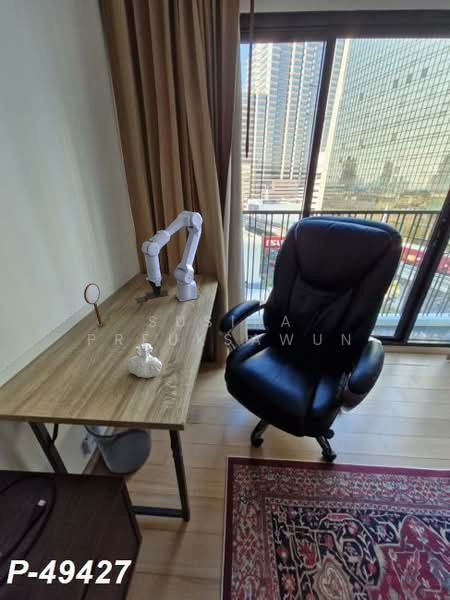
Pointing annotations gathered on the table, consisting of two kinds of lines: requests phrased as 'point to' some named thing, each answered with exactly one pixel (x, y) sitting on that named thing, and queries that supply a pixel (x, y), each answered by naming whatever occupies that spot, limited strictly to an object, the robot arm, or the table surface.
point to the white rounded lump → (144, 362)
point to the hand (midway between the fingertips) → (157, 294)
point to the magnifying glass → (93, 298)
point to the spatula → (151, 296)
